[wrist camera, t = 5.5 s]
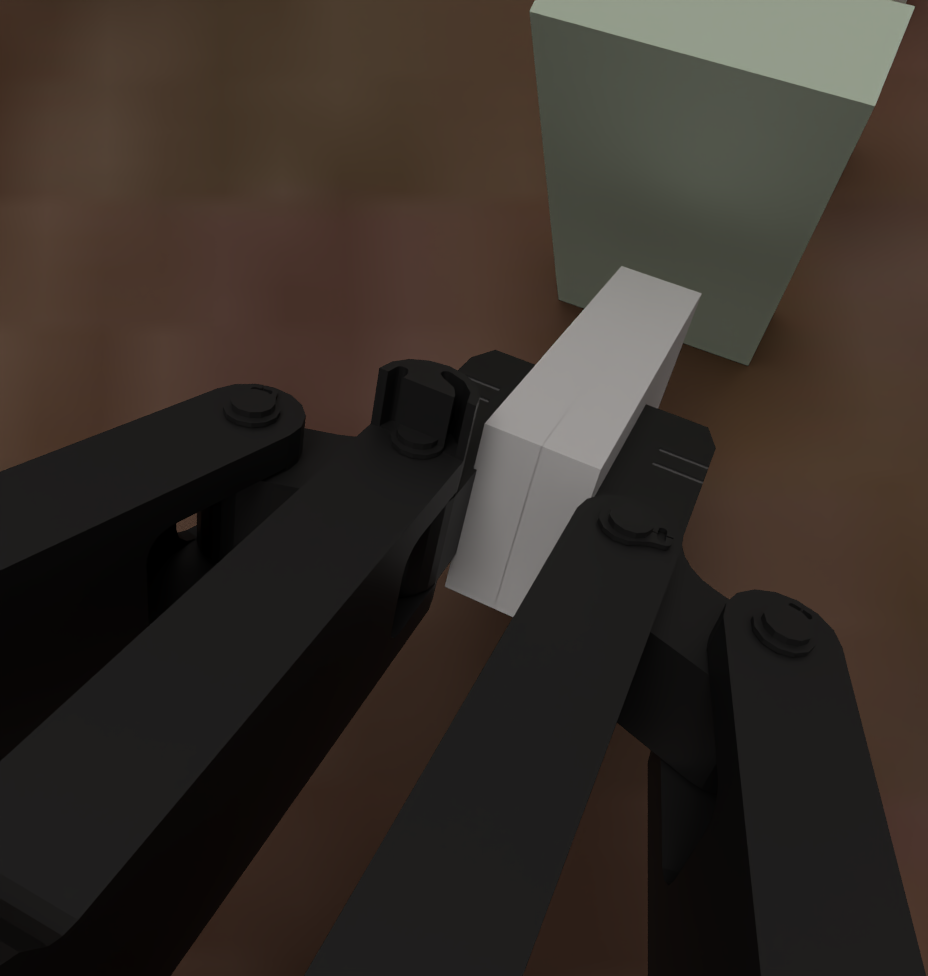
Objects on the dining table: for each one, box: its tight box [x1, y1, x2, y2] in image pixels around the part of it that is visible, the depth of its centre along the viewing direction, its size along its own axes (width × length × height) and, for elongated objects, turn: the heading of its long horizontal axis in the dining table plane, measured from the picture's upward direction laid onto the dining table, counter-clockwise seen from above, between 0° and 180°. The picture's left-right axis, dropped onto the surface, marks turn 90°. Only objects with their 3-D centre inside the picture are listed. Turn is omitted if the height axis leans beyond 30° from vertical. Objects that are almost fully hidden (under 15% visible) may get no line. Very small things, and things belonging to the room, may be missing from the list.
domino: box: [530, 0, 915, 366], centre depth 17 cm, size 2×5×10 cm, turn 66°
